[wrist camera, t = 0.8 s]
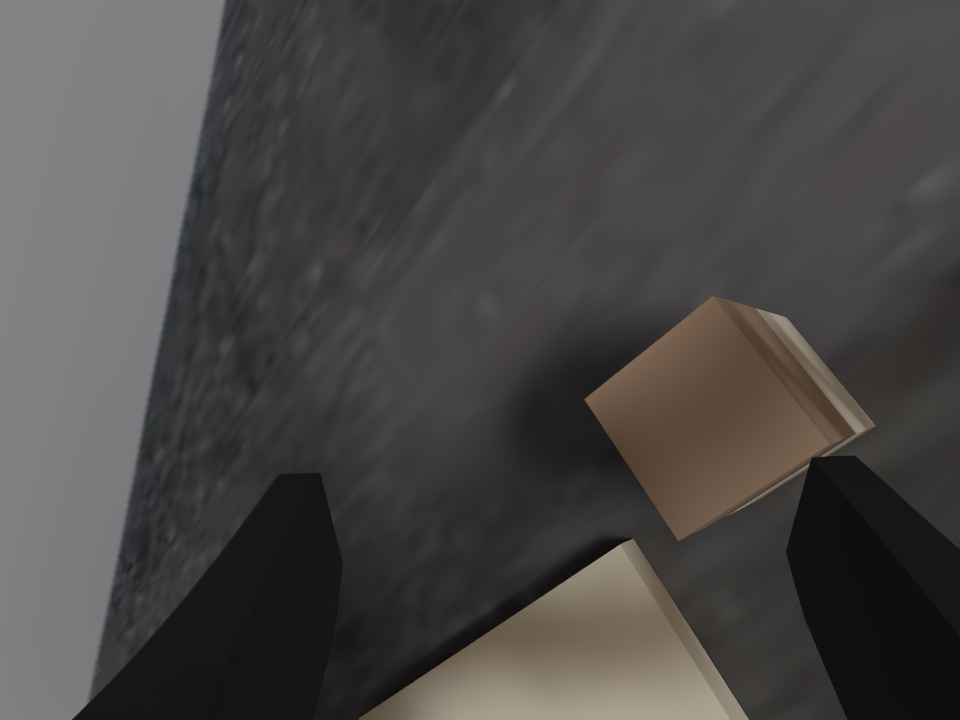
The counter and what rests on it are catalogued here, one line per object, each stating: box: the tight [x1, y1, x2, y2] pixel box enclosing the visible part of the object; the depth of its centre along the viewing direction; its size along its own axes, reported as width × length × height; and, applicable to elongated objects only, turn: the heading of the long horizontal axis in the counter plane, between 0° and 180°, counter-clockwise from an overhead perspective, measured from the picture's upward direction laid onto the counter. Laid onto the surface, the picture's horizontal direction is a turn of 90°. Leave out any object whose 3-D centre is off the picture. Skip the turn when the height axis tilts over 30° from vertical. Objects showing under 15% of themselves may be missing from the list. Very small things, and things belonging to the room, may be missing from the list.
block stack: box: [584, 296, 875, 541], centre depth 22 cm, size 4×4×8 cm
